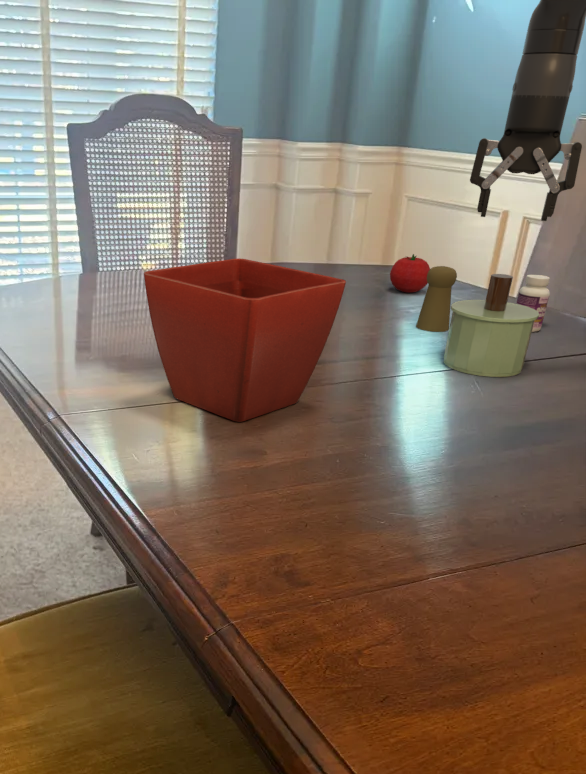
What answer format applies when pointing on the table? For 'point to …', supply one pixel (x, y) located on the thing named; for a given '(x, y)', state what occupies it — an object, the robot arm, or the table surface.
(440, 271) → the pepper mill
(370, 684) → the table surface
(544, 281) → the pill bottle
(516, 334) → the pot
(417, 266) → the tomato
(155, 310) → the flower pot
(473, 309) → the pot lid
